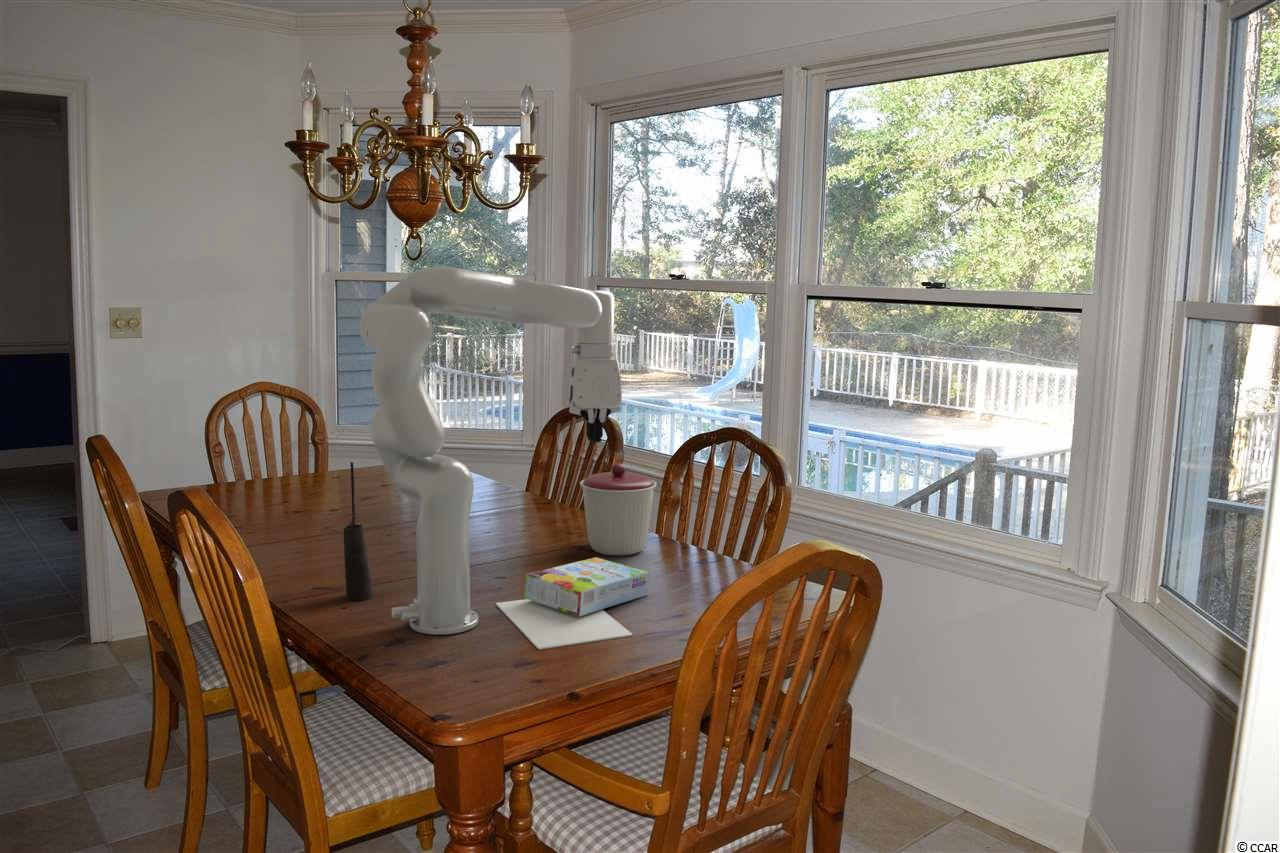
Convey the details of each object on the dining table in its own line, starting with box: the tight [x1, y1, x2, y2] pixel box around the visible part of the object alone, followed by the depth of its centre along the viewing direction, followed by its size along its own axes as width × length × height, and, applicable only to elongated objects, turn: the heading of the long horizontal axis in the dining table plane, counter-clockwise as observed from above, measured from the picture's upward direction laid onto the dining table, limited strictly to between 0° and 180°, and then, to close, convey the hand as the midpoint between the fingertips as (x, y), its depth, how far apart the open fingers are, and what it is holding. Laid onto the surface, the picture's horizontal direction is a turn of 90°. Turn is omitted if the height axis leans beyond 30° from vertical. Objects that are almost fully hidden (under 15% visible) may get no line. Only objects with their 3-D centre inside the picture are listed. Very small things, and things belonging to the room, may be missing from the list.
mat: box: [495, 598, 634, 651], centre depth 189 cm, size 18×26×1 cm
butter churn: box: [343, 461, 374, 602], centre depth 199 cm, size 9×10×28 cm
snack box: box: [523, 557, 650, 617], centre depth 200 cm, size 21×6×15 cm
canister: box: [579, 462, 657, 557], centre depth 235 cm, size 18×18×21 cm
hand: (594, 441), depth 204 cm, fingers closed
